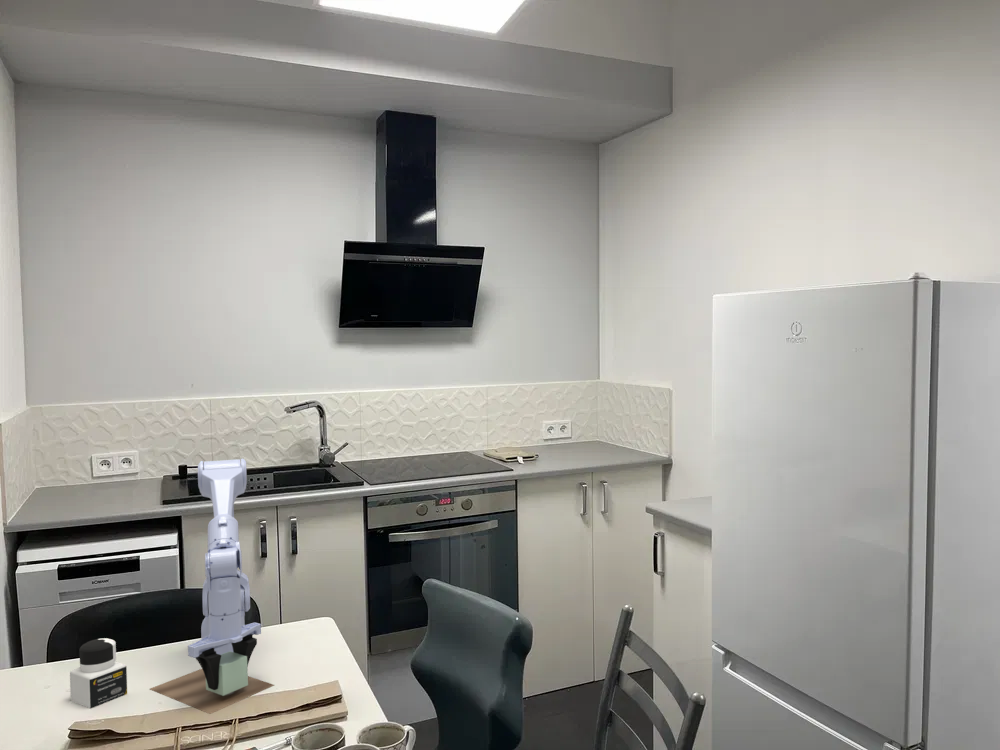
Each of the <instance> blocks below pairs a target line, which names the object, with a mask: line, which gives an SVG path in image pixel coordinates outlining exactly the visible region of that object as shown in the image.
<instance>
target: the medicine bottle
mask: <svg viewBox="0 0 1000 750" xmlns="http://www.w3.org/2000/svg"><path fill="white" fill-rule="evenodd" d="M116 643H117V642H116V641H115V640H114V639H111V638H107V637H106V638H105V637H104V638H96V639H92V640H89V641H86V642H85V643H83V644H82V645H81V646H80V647H79V667H77V668H73V669H72V670H70V671H69V687H70V688H69V689H70V691H69V692H70V701H71V702H73V703H75V704H78V705H81V706H83V707H86V708H88V709H93V708H96V707H99V706H100V705H103V704H105V703H108V702H110V701H113V700H116V699H118V698H121V697H123V696H127V695H128V676H127V675H128V673H127V672H128V671H127V664H125V663H121V662H119V661H116V660H117V648H116V647H117V646H116V645H117V644H116Z"/></svg>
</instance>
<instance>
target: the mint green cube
mask: <svg viewBox="0 0 1000 750" xmlns="http://www.w3.org/2000/svg"><path fill="white" fill-rule="evenodd" d="M248 670H249V669H248V667H247V656H244V655H241V654H237V653H234V652H231V651H229V652H227V653H224V654H221V659H220V664H219V672H218V675H219V684H218V689H216V690H213V689H210V688H208V684H207V680H206V690H208V691H211V692H214V693H217V694H220V695H222V696H224V695H226V694H229V693H231V692H233V691H236V690H238V689H240V688H243V687H245V686H247V685H248V676H249V675H248V674H249V673H248Z"/></svg>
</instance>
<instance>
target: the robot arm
mask: <svg viewBox="0 0 1000 750" xmlns="http://www.w3.org/2000/svg"><path fill="white" fill-rule="evenodd" d="M247 475H248V474H247V461H246V459H244V457H243V458H241V459H240V458H239V459H238V458H237V459H236V458H234V459H222V460H207V461H206V460H205V461H204V460H200V461H199V463H197V483H198V484H197V486H198V489H199V493H200V494H201V496H202V497H204V498H207V499H208V498H209V499H210V501H211V503H212V510H213V518H212V519H211V520H210V521H209V522H208V525H207V552H205V554H204V574H205V578H204V582H203V583H202V597H201V598H202V614H203V616H204V619H202V623H201V626H200V627H201V628H200V629H201V630H200V633H201V639H199V640H197V641H196V642H193V643H192V644H189V645H187V656H188V657H190V658H193V659H196V661H197V662H198V664H199V666H200V667H201V669H203V672H204V674H205V677H206V680H207V684H208V688H210V689H213V690H216V689H218V684H219V675H218V672H219V664H220V659H221V654H224V653H227V652H229V651H231V652H234V653H237V654H241V655H244V656H247V668H248V666H249V664H250V663H249V662H250V660H251V657H252V654H253V651H254V649H255V648H256V646H257V644H258V639H257V638H256V637H253V636H255V635H256V636H257V635H261V634H262V624H261V623H258V622H252V623H248V624H245V616H246V614H245V613H246V612H249V610H250V609H251V592H250V591H251V590H250V583H249V577H248V575H247V574H246V573H244V572H243V558H242V557H243V555H242V554H243V553H242V549H241V545H240V544H241V541H240V538H239V537H240V536H239V522H238V520H237V519H236V518H235V509H234V508H235V501H236V500H237V498H238V496H240V495H243V494H244V493H245V492H246V489H247V482H248V478H247Z"/></svg>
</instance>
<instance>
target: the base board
mask: <svg viewBox="0 0 1000 750" xmlns="http://www.w3.org/2000/svg"><path fill="white" fill-rule="evenodd" d="M274 686H275V684H273V683H270V682H266V681H263V680H262V679H258V678H256V677H252V676H249V675H248V685H247V686H245V687H243V688H240V689H238V690H236V691H233V692H231V693H229V694H226V695H224V696H222V695H220V694H217V693H214V692H211V691H208V690H206V677H205V674H204V672H203V669H202V668H200V669H197V670H195V671H192V672H190V673H187V674H184V675H182V676H179V677H177V678H174V679H171V680H169V681H166V682H162V683H161V684H159V685H156V686H153V687H150V688H149V691H153V692H155V693H157V694H159V695H162V696H165V697H168V698H169V699H173V700H174V701H177V702H180V703H182V704H184V705H186V706H187V705H188V706H190V707H192V708H194V709H197V710H199V711H202V712H203V713H207V714H209V715H211V714H213V713H215V712H218V711H220V710H222V709H225V708H227V707H230V706H231V705H234V704H236V703H238V702H240V701H243V700H245V699H247V698H249V697H252V696H254V695H257V694H258V693H261V692H262V691H266V690H267V689H269V688H271V687H274Z"/></svg>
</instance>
